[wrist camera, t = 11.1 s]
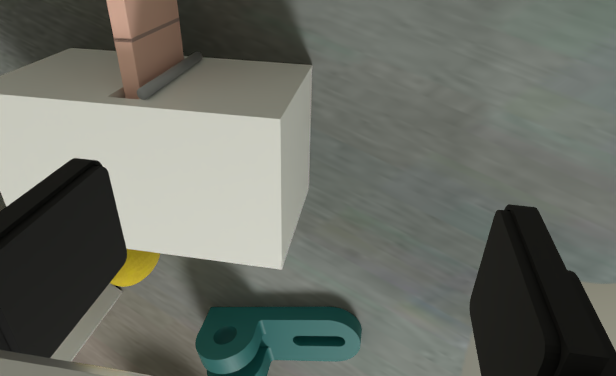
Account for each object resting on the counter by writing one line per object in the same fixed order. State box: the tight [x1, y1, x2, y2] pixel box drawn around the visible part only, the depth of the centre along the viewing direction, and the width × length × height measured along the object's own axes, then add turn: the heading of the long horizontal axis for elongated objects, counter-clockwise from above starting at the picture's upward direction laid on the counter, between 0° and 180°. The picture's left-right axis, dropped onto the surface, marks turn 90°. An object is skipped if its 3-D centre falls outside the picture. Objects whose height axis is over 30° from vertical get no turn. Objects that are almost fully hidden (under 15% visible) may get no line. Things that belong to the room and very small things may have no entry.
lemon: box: [110, 249, 160, 287], centre depth 47 cm, size 6×6×8 cm
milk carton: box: [51, 283, 122, 362], centre depth 49 cm, size 7×7×19 cm
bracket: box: [196, 307, 362, 376], centre depth 51 cm, size 18×7×8 cm, turn 101°
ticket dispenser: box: [0, 48, 312, 270], centre depth 37 cm, size 13×22×12 cm, turn 89°
